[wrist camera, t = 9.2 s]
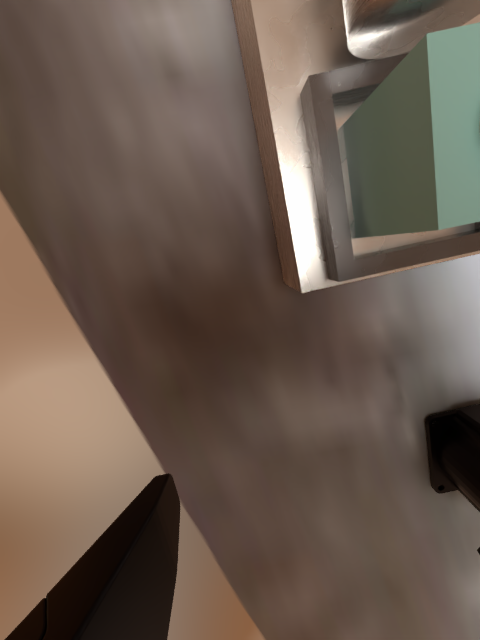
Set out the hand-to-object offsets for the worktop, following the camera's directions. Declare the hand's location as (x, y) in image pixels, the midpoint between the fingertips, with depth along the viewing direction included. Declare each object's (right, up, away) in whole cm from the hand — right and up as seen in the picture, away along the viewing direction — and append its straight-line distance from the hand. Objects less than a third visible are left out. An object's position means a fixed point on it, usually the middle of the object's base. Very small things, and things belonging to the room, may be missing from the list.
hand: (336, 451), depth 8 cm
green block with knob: (+5, +10, +6) cm, 13 cm away
